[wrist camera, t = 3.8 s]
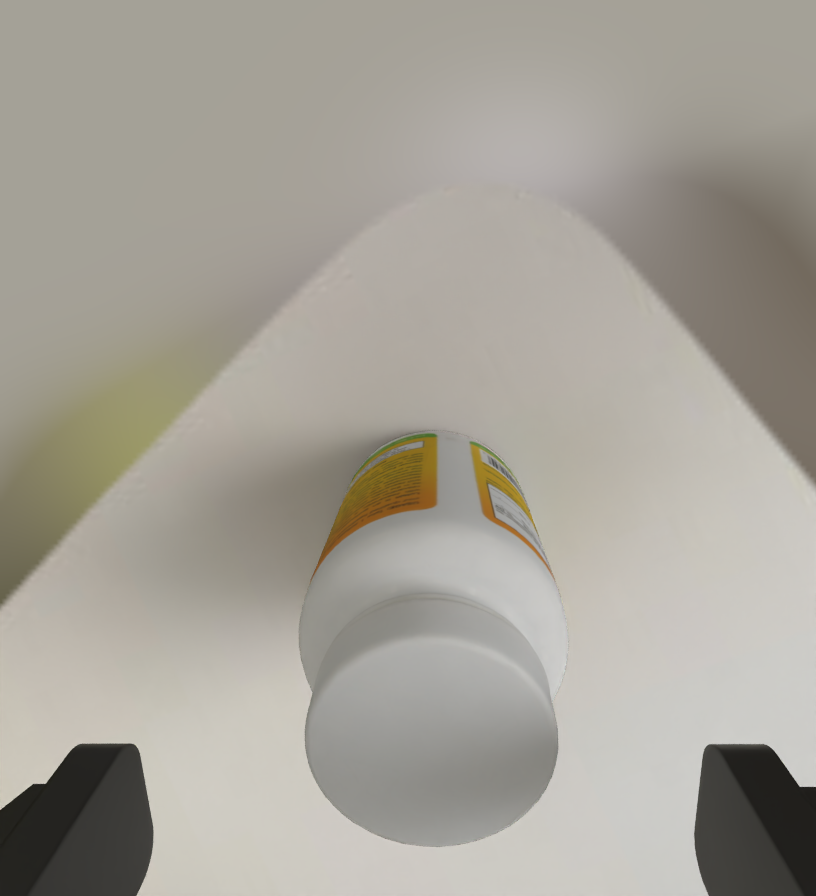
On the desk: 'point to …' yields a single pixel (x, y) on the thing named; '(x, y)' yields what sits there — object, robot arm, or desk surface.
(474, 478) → the supplement bottle
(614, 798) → the desk surface
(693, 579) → the desk surface
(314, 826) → the desk surface
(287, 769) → the desk surface
